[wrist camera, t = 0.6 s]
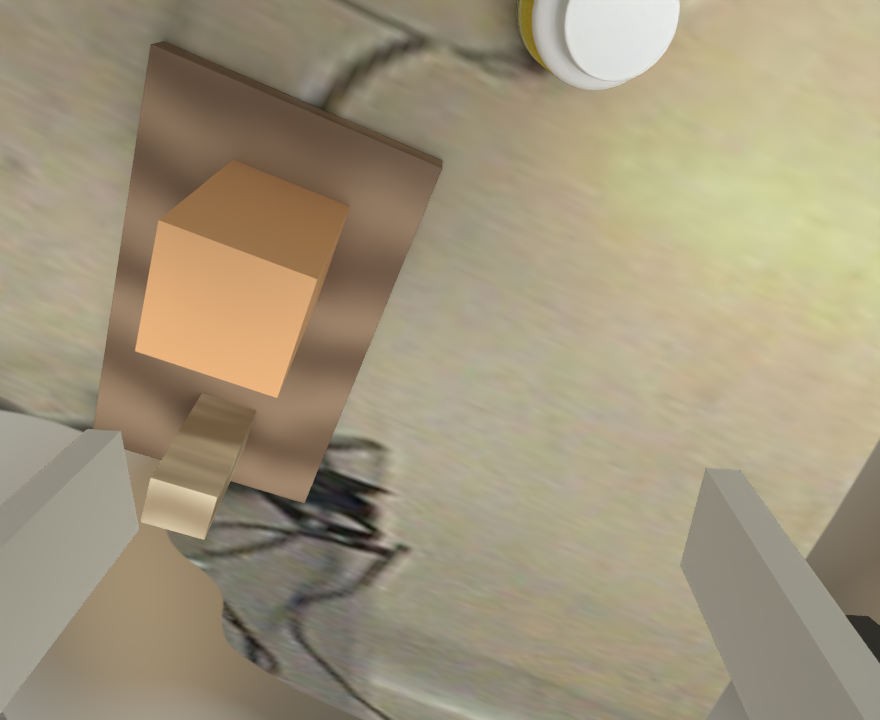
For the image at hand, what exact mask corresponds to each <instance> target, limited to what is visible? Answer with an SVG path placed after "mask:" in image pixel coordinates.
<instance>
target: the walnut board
mask: <svg viewBox="0 0 880 720" xmlns="http://www.w3.org/2000/svg"><path fill="white" fill-rule="evenodd" d="M232 160H235V161H238V162H240V163H243V164H245V165H248V166H250V167H253V168H255V169H258V170H260V171H263V172H265V173H268V174H270V175H273V176H275V177H278V178H280V179H283V180H285V181H288V182H290V183H293V184H295V185H297V186H300V187H302V188H305V189H307V190H310V191H312V192H315V193H317V194H320V195H322V196H325V197H327V198H330V199H332V200H335V201H337V202H340V203H342V204H345V205H347V206H350V208H349V211H348V214H347V217H346V220H345V223H344V225H343V228H342V231H341V234H340V237H339V240H338V243H337V246H336V249H335V252H334V254H333V257H332V260H331V263H330V266H329V269H328V272H327V275H326V278H325V281H324V283H323V286H322V289H321V292H320V295H319V298H318V301H317V304H316V306H315V309H314V311H313V314H312V316H311V318H310V321H309V323H308V326H307V328H306V330H305V333H304V335H303V338H302V340H301V342H300V345H299V347H298V350H297V352H296V354H295V357H294V359H293V362H292V364H291V366H290V369H289V371H288V374H287V376H286V378H285V381H284V383H283V386H282V388H281V390H280V393H279V395H278V398H275V397H272V396H269V395H266V394H263V393H260V392H257V391H254V390H251V389H248V388H245V387H242V386H239V385H236V384H233V383H230V382H227V381H224V380H221V379H218V378H215V377H212V376H209V375H206V374H203V373H200V372H197V371H194V370H191V369H188V368H185V367H182V366H179V365H176V364H173V363H170V362H166V361H163V360H160V359H157V358H154V357H151V356H148V355H145V354H142V353H139V352H136V351H135V348H136V343H137V337H138V332H139V326H140V320H141V315H142V309H143V304H144V298H145V293H146V287H147V281H148V276H149V270H150V265H151V259H152V254H153V248H154V243H155V237H156V231H157V226H158V220H159V219H161V218H162V217H163V216H164V215H165V214H167V213H168V212H169V211H170V210H172V209H173V208H174V207H175V206H177V205H178V204H179V203H180V202H182V201H183V200H184V199H185V198H186V197H188V196H189V195H190V194H191V193H193V192H194V191H195V190H196V189H198V188H199V187H200V186H201V185H202V184H204V183H205V182H206V181H207V180H209V179H210V178H211V177H212V176H214V175H215V174H216V173H217V172H218V171H220V170H221V169H222V168H223V167H225V166H226V165H227V164H228V163H230V162H231V161H232ZM441 170H442V161H441V160H438V159H436V158H434V157H431V156H429V155H427V154H424V153H422V152H420V151H417V150H415V149H413V148H410V147H408V146H406V145H403V144H401V143H399V142H396V141H394V140H392V139H389V138H387V137H385V136H382V135H380V134H378V133H375V132H373V131H371V130H368V129H366V128H364V127H361V126H359V125H357V124H354V123H352V122H350V121H347V120H345V119H343V118H340V117H338V116H336V115H333V114H331V113H329V112H326V111H324V110H322V109H319V108H317V107H315V106H312V105H310V104H308V103H305V102H303V101H301V100H298V99H296V98H294V97H291V96H289V95H287V94H284V93H282V92H280V91H277V90H275V89H273V88H270V87H268V86H266V85H263V84H261V83H259V82H256V81H254V80H252V79H249V78H247V77H245V76H242V75H240V74H238V73H235V72H233V71H230V70H228V69H226V68H223V67H221V66H219V65H216V64H214V63H212V62H209V61H207V60H205V59H202V58H200V57H198V56H195V55H193V54H191V53H188V52H186V51H184V50H181V49H179V48H177V47H174V46H172V45H170V44H167V43H165V42H160V43H155V44H151V47H150V54H149V61H148V67H147V74H146V81H145V87H144V94H143V101H142V107H141V114H140V121H139V127H138V134H137V141H136V148H135V154H134V161H133V168H132V174H131V181H130V188H129V194H128V201H127V208H126V214H125V221H124V228H123V234H122V241H121V248H120V254H119V261H118V268H117V274H116V281H115V288H114V294H113V301H112V308H111V314H110V321H109V328H108V334H107V341H106V348H105V354H104V361H103V368H102V374H101V381H100V388H99V394H98V401H97V408H96V414H95V421H94V428H93V429H95V430H111V431H121V435H122V440H123V446H124V449H126V450H129V451H132V452H136V453H139V454H143V455H146V456H150V457H152V458H156V459H159V460H162V458H163V457H164V455H165V453H166V452H167V450H168V448H169V447H170V445H171V443H172V442H173V440H174V438H175V437H176V435H177V433H178V432H179V430H180V429H181V427H182V425H183V424H184V422H185V420H186V419H187V417H188V415H189V414H190V412H191V410H192V409H193V407H194V405H195V404H196V402H197V400H198V399H199V397H200V395H201V394H202V393H204V394H207V395H210V396H213V397H216V398H219V399H222V400H225V401H228V402H231V403H234V404H237V405H241V406H244V407H247V408H250V409H253V410H256V414H255V417H254V420H253V423H252V427H251V430H250V433H249V436H248V439H247V442H246V445H245V448H244V451H243V453H242V456H241V458H240V460H239V462H238V465H237V467H236V469H235V471H234V474H233V476H232V478H231V481H232V482H236V483H239V484H242V485H246V486H249V487H252V488H256V489H259V490H262V491H266V492H269V493H272V494H276V495H279V496H282V497H286V498H289V499H292V500H296V501H299V502H302V503H305V500H306V498H307V495H308V493H309V491H310V488H311V486H312V483H313V481H314V478H315V476H316V473H317V471H318V469H319V466H320V464H321V461H322V459H323V456H324V454H325V452H326V449H327V447H328V444H329V442H330V439H331V437H332V435H333V432H334V430H335V427H336V425H337V422H338V420H339V418H340V415H341V413H342V410H343V408H344V405H345V403H346V401H347V398H348V396H349V393H350V391H351V388H352V386H353V384H354V381H355V379H356V376H357V374H358V371H359V369H360V367H361V364H362V362H363V359H364V357H365V354H366V352H367V350H368V347H369V345H370V342H371V340H372V337H373V335H374V332H375V330H376V328H377V325H378V323H379V320H380V318H381V315H382V313H383V311H384V308H385V306H386V303H387V301H388V298H389V296H390V294H391V291H392V289H393V286H394V284H395V281H396V279H397V277H398V274H399V272H400V269H401V267H402V264H403V262H404V260H405V257H406V255H407V252H408V250H409V247H410V245H411V243H412V240H413V238H414V235H415V233H416V230H417V228H418V226H419V223H420V221H421V218H422V216H423V213H424V211H425V209H426V206H427V204H428V201H429V199H430V196H431V194H432V191H433V189H434V187H435V184H436V182H437V179H438V177H439V174H440V172H441Z"/></svg>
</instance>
